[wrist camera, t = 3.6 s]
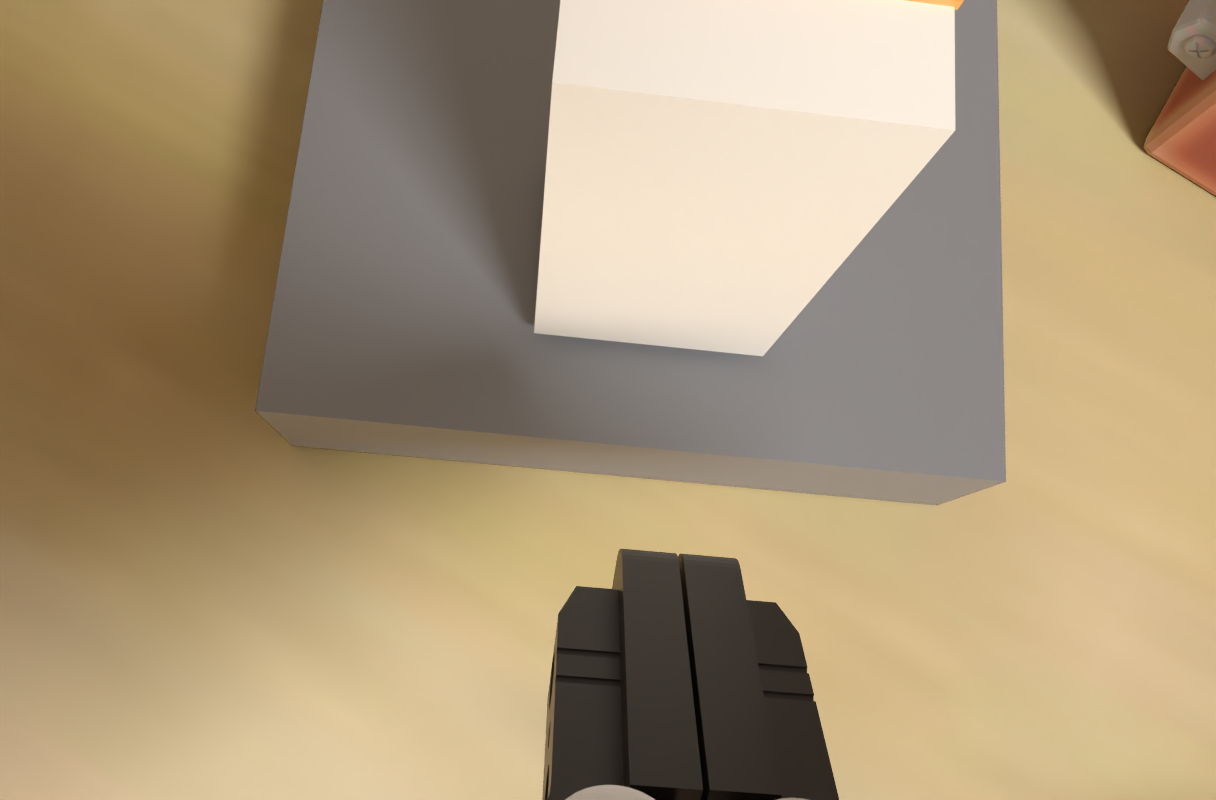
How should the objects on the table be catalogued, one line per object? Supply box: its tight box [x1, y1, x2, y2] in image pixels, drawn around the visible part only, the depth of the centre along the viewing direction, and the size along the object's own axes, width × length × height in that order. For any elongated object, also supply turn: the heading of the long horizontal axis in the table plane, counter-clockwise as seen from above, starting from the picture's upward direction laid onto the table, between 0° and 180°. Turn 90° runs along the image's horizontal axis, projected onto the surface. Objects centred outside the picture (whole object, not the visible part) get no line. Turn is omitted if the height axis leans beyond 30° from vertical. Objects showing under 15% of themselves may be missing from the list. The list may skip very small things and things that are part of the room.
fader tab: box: [534, 0, 964, 356], centre depth 14 cm, size 4×4×8 cm
